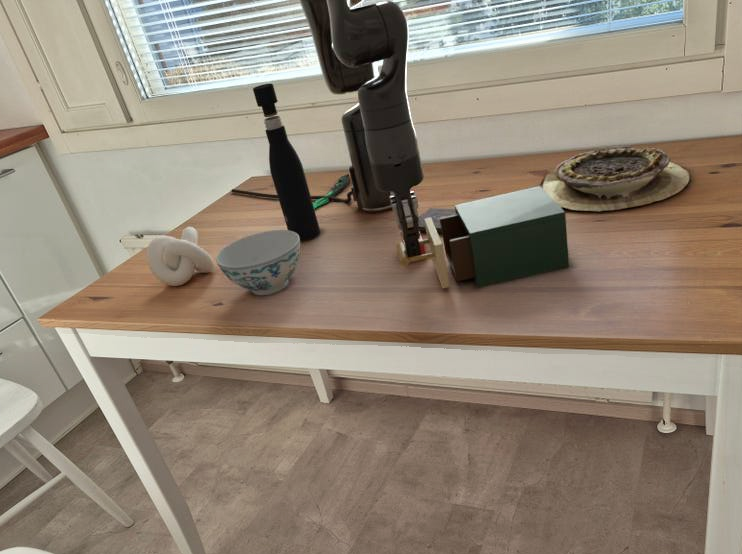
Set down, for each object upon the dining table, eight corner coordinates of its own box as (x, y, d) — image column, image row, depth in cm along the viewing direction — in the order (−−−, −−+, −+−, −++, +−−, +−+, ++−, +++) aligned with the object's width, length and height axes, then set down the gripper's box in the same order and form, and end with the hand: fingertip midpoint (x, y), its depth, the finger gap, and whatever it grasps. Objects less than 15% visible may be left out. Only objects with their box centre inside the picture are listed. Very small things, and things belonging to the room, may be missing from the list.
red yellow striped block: (426, 258, 119) (423, 242, 118) (407, 262, 119) (404, 246, 118) (421, 242, 125) (418, 227, 124) (403, 247, 126) (400, 231, 124)
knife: (345, 173, 171) (362, 172, 169) (345, 176, 172) (362, 175, 170) (296, 209, 155) (315, 208, 152) (297, 212, 155) (316, 211, 153)
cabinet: (477, 287, 106) (469, 233, 101) (462, 254, 117) (454, 205, 113) (569, 266, 105) (565, 211, 101) (544, 236, 117) (539, 185, 112)
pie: (702, 160, 133) (703, 134, 130) (669, 214, 114) (669, 186, 112) (565, 163, 148) (563, 140, 145) (516, 211, 129) (513, 186, 127)
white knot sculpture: (168, 269, 140) (152, 229, 135) (224, 258, 139) (209, 217, 135) (154, 293, 130) (136, 250, 126) (214, 281, 130) (198, 237, 125)
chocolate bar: (430, 208, 137) (509, 212, 127) (431, 212, 138) (510, 216, 127) (405, 225, 131) (486, 231, 121) (406, 230, 132) (487, 236, 122)
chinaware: (273, 311, 113) (260, 269, 109) (213, 302, 121) (198, 263, 117) (327, 271, 123) (316, 231, 119) (267, 265, 131) (255, 228, 127)
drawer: (408, 296, 106) (399, 253, 102) (400, 265, 116) (391, 225, 113) (526, 269, 106) (521, 225, 102) (507, 241, 116) (502, 200, 112)
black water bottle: (326, 229, 142) (285, 79, 127) (310, 241, 137) (266, 88, 122) (301, 229, 145) (258, 83, 130) (284, 242, 140) (239, 92, 125)
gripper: (366, 149, 106) (388, 249, 115) (372, 171, 95) (397, 281, 104) (412, 138, 106) (431, 240, 115) (424, 159, 95) (444, 270, 104)
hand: (415, 259), depth 109 cm, fingers closed
